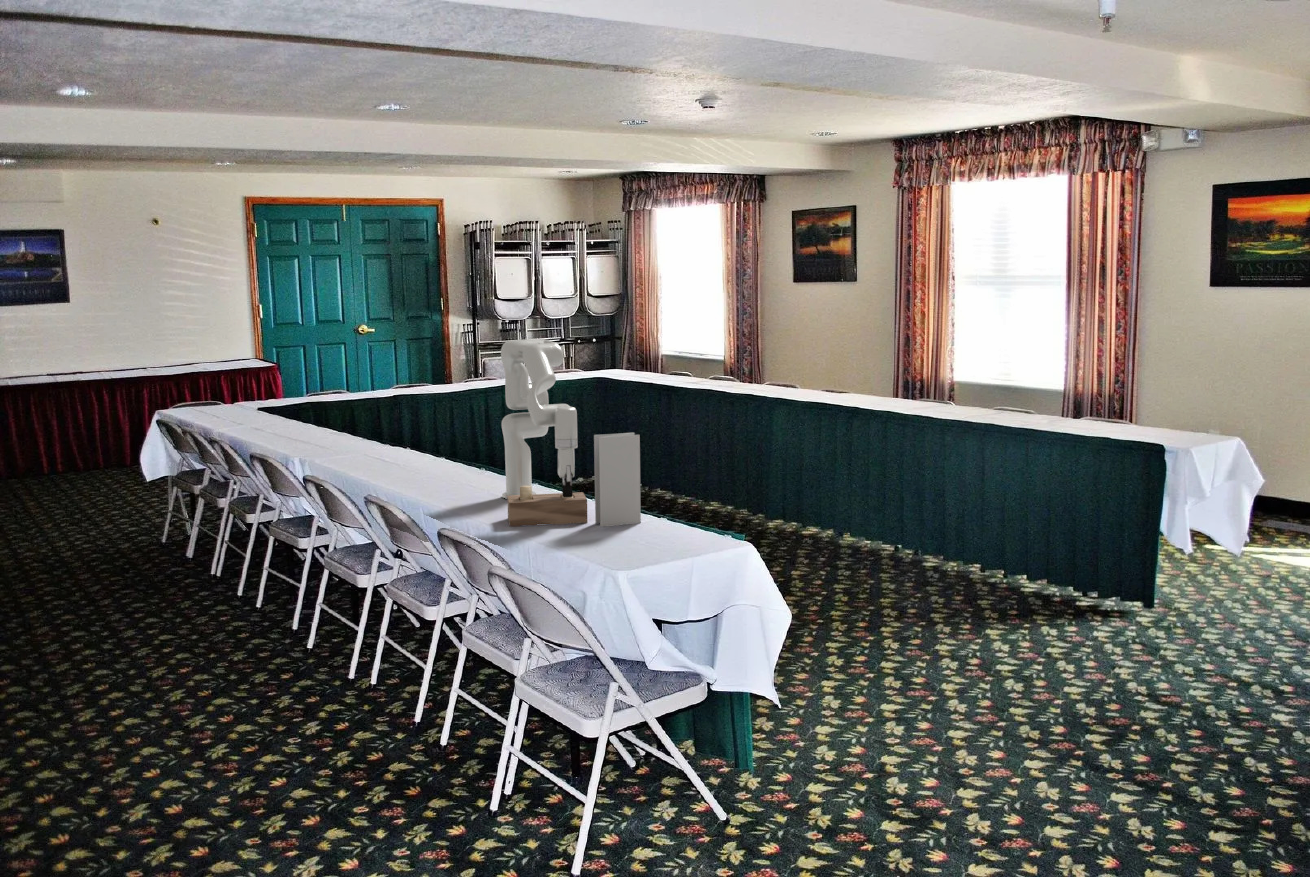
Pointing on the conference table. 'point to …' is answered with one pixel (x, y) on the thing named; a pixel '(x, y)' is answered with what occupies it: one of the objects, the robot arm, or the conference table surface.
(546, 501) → the walnut block
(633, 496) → the brochure
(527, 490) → the peg
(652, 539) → the conference table surface
